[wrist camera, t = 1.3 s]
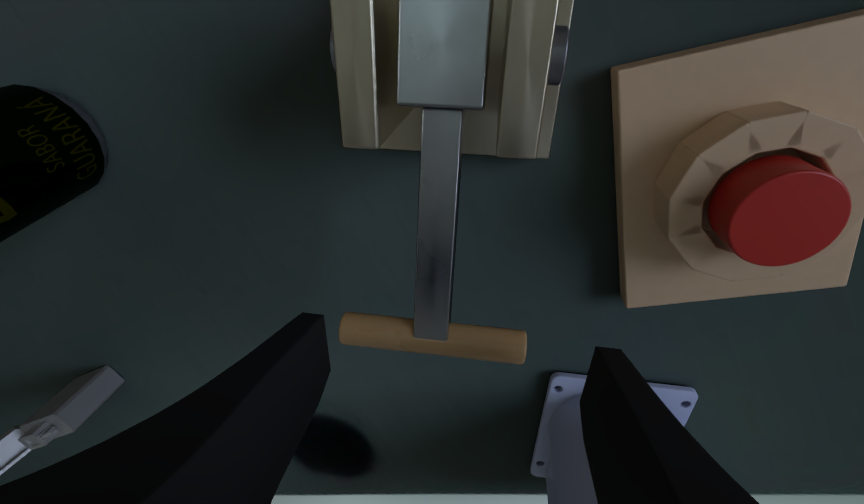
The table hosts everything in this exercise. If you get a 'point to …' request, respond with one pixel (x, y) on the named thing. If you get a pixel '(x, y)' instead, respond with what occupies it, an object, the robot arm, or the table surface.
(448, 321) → the lever
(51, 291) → the table surface
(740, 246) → the button
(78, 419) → the lighter
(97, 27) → the table surface
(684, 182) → the control block
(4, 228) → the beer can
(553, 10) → the bracket
